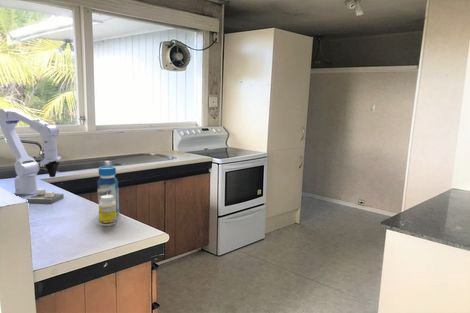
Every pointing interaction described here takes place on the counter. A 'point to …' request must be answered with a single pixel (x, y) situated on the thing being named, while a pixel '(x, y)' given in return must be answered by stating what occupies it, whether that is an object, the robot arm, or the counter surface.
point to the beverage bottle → (108, 184)
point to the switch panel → (45, 198)
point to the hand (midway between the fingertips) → (52, 176)
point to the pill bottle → (107, 210)
